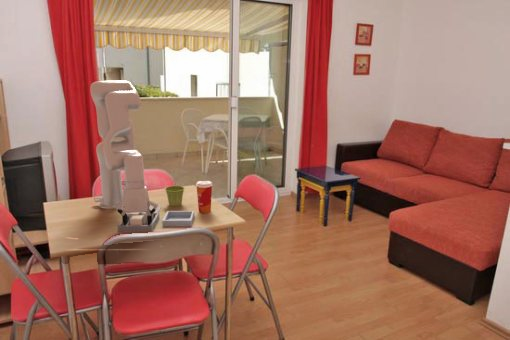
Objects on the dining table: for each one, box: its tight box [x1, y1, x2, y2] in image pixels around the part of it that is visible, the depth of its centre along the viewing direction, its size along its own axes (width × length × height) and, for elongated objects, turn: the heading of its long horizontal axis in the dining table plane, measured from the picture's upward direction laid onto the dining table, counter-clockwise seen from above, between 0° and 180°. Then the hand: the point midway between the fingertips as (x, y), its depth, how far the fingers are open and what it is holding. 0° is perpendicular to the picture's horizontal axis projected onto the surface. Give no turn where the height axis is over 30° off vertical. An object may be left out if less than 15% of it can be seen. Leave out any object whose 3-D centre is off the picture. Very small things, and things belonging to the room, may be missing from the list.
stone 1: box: [129, 212, 142, 223], centre depth 173 cm, size 4×4×4 cm
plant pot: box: [164, 185, 185, 207], centre depth 196 cm, size 9×9×9 cm
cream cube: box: [130, 215, 144, 226], centre depth 166 cm, size 4×4×4 cm
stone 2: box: [142, 209, 154, 223], centre depth 173 cm, size 4×4×4 cm
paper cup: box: [195, 180, 213, 214], centre depth 187 cm, size 8×8×14 cm
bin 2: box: [161, 210, 195, 227], centre depth 174 cm, size 12×12×3 cm
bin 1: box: [117, 212, 160, 233], centre depth 170 cm, size 14×16×3 cm
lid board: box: [126, 205, 162, 214], centre depth 185 cm, size 14×14×2 cm
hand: (137, 224), depth 166 cm, fingers open, 9 cm apart
